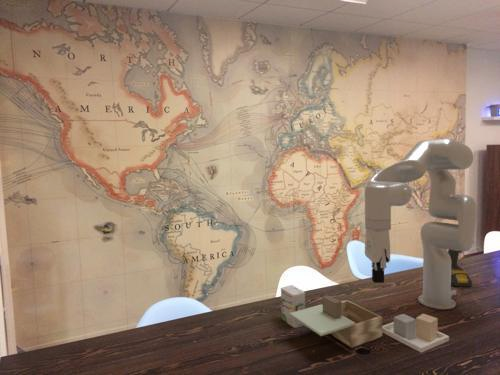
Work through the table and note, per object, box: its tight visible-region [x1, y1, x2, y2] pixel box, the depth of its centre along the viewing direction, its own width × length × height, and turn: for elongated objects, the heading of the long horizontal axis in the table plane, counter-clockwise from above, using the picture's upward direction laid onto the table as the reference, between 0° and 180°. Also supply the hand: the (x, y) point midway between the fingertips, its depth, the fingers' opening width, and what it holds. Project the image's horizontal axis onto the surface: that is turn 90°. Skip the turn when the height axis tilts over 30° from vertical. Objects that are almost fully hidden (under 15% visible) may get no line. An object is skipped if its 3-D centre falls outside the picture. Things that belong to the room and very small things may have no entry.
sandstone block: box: [415, 313, 439, 342], centre depth 110 cm, size 4×4×6 cm
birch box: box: [328, 299, 383, 348], centre depth 115 cm, size 13×16×7 cm
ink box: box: [280, 284, 306, 329], centre depth 124 cm, size 8×5×12 cm, turn 27°
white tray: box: [382, 321, 450, 354], centre depth 111 cm, size 13×15×2 cm
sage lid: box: [290, 294, 355, 337], centre depth 109 cm, size 13×16×6 cm
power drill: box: [447, 241, 475, 288], centre depth 154 cm, size 20×9×25 cm, turn 179°
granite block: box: [393, 313, 416, 340], centre depth 110 cm, size 4×4×6 cm
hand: (378, 281), depth 110 cm, fingers closed
